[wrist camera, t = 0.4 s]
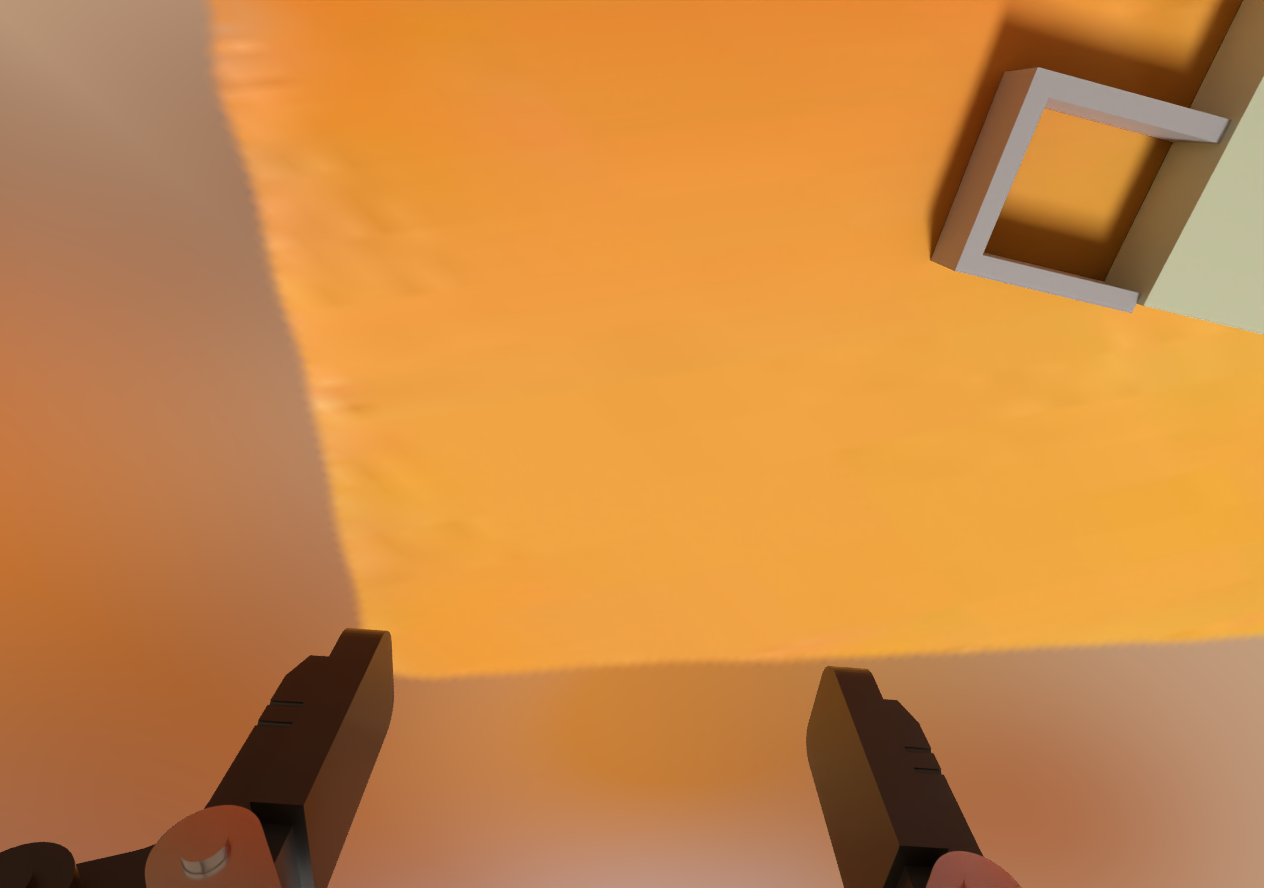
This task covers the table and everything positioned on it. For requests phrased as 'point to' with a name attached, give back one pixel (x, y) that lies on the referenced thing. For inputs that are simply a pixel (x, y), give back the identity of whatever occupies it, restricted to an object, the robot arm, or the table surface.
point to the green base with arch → (1175, 205)
